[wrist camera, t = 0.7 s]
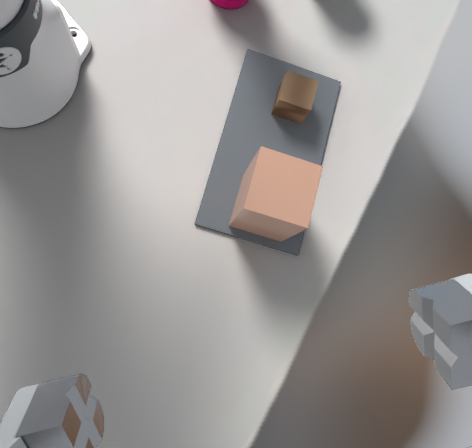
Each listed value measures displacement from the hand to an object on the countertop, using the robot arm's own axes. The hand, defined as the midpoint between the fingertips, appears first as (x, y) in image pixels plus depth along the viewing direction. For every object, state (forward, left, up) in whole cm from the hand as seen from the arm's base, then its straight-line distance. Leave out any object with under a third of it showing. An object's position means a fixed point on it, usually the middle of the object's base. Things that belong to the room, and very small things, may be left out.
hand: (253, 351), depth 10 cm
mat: (-12, +19, -39) cm, 45 cm away
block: (-16, +24, -38) cm, 48 cm away
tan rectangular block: (-6, +14, -38) cm, 41 cm away
